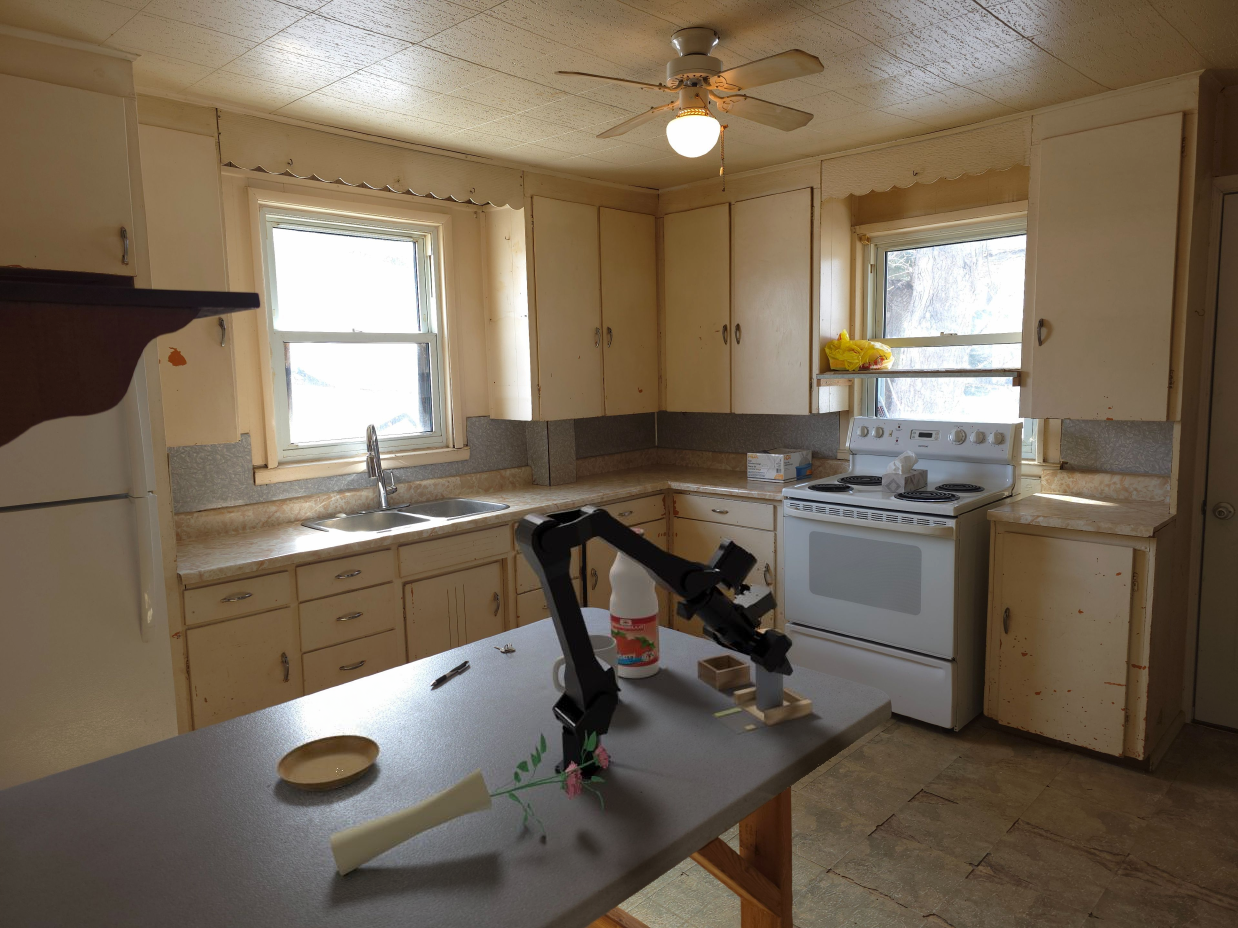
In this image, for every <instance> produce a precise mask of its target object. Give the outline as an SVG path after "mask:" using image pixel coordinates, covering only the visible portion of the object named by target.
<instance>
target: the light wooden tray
mask: <svg viewBox="0 0 1238 928" xmlns="http://www.w3.org/2000/svg"><path fill="white" fill-rule="evenodd" d="M733 704H734V705H736V706H737V707H738V708H739V707H740V708H741V709H743V710H744V711H746V712H747V713H749V714H750V715H752V716H753V717H755V718H757V719H758V720H760V721H761V722H763V723H764V724H766V725H767V727H768V726H773V725H777V724H780V723H783V722H787V721H792V720H795V719H798V718H802V717H805V716H809V715H812V714H813V701H812V700H810V699H808V698H806V697H804V696H802V695H801V694H799V693H797V692H795V691H794V690H792V689H790V688H788V687H787V686H784V685H783V706H781V707H777V708H774V709H770V710H766V711H764V713H763V712H760V711H758V710H757V709H756V686H752V687H748V688H745V689H740V690H736V691H734V692H733Z"/></svg>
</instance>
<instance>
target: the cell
mask: <svg viewBox="0 0 1238 928" xmlns="http://www.w3.org/2000/svg"><path fill="white" fill-rule="evenodd" d="M768 629H769V628H761V629H758V630H757V631H759V632H761V633H764V632H765V631H766V630H768ZM774 629H775V628H774ZM775 630H777V631H779V632H781V633H783V631H781V630H779V629H775ZM758 639H759V638H758ZM754 665H755V687H756V709H757V710H758V711H760V712H763V713H764V711H766V710H770V709H774V708H777V707H781V706H783V686H784V675H783V674H779V673H774V672H771V673H769V672H767V671H765V670H763V669H761V668H760V667H758V666H757V665H756V664H754Z"/></svg>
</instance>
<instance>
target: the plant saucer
mask: <svg viewBox="0 0 1238 928" xmlns="http://www.w3.org/2000/svg"><path fill="white" fill-rule="evenodd" d="M380 752H381V751H380V746H379V744H378V743H377V742H376V741H375V740H374V739H372V738H370V737H366V736H362V735H356V734H342V735H341V734H339V735H332V736H325V737H321V738H317V739H314V740H311V741H308V742H305V743H303V744H301V745H299V746H296V747H294V748H293V749H291V750H290V751H288V752H287V753H286V754H284V755H283V756H282V757H281V758H280V760H279V761H278V762H277V765H276V773H277V775H278V776H279V777H280V778H281V779H282V780H283V781H285V783H288V784H289V785H290V786H291V787H292V786H293V787H294V788H296V789H299V790H303V791H306V790H307V792H323V791H329V790H335V789H338V788H341V786H342V787H344V786H347V785H350V784H351V783H353V782H355V781H356V780H358V779H359V777H360V778H361V777H362V776H363V775H364V774H366V772H368V770H370V768H371V767H372V766H373V764H374V763H375V762H376V761H377V759H378V757H379V755H380ZM337 768H338V769H337ZM342 770H343V771H342ZM336 771H337V772H336ZM337 787H338V788H337ZM334 788H335V789H334Z"/></svg>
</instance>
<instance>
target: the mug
mask: <svg viewBox="0 0 1238 928" xmlns="http://www.w3.org/2000/svg"><path fill="white" fill-rule="evenodd" d="M589 637H590V641H591V644H592V647H593V650H594V653H595V655H596V656H598V657H599V658H600V659H602V660H603V661H605V662H606V663H608V664H609V665H611V666H612V667H613V669H614V672H615V678H616V683H617V685H618V687H619V676H618V657H617V641H616V640H615V639H614V638H612V637H611V635H604V634H589ZM563 665H564V666H565V665H566V662H565V658H564V655H563V654H562V655H561V656H559V657H558V658H557V659H555V661H554V663H553V666H552V682H553V686H554V689H555V690H556V691H557V692H558V693H560V694H563V693H564V692H565V690H566V689H565V684H561V682H560V680H559V671H560V668H561V667H562V666H563ZM619 688H620V687H619ZM617 693H618V697H619V698H620V692H617Z"/></svg>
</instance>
